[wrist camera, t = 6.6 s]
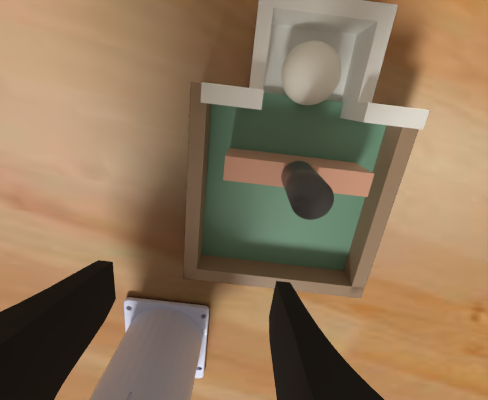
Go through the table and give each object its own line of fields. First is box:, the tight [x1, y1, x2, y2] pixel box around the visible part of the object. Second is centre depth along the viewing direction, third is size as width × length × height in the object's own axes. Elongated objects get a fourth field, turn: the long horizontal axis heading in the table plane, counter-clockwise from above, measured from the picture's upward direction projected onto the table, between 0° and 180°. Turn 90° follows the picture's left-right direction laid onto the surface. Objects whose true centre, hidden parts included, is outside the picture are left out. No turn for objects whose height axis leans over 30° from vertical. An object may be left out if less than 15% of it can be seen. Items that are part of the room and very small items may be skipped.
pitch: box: [183, 0, 430, 298], centre depth 18 cm, size 19×14×5 cm
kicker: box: [223, 148, 374, 220], centre depth 15 cm, size 2×9×7 cm, turn 83°
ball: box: [281, 40, 341, 105], centre depth 16 cm, size 4×4×4 cm
